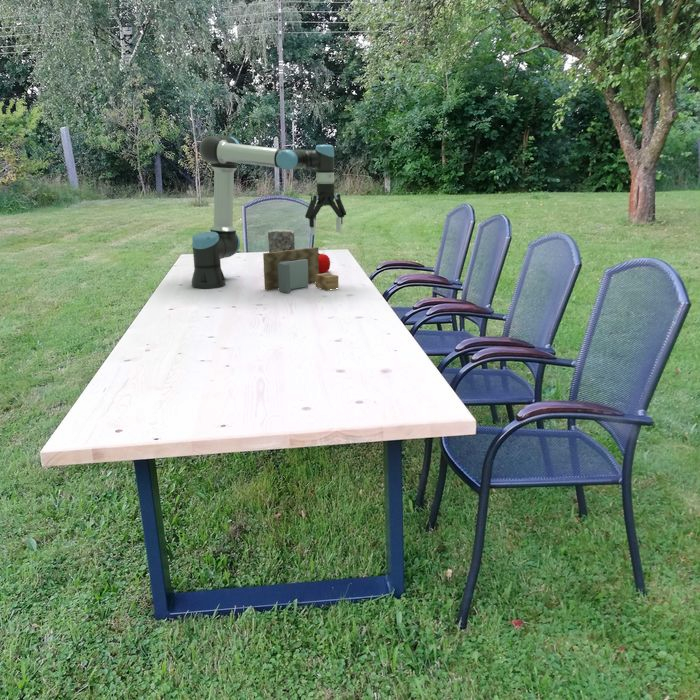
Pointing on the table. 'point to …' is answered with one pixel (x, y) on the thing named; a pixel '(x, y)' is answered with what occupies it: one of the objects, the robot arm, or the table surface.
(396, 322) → the table surface
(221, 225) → the robot arm
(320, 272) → the tomato
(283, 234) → the stone block
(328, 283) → the block
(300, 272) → the gate
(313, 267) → the wall frame
